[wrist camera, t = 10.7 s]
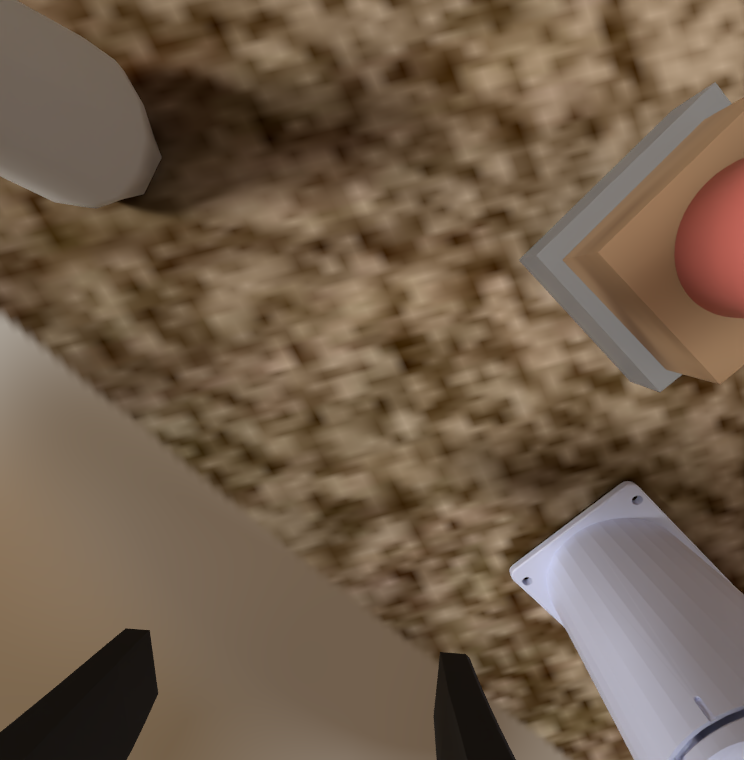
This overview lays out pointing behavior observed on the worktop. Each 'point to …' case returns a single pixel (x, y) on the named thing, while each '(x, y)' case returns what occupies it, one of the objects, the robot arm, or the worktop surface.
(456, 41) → the worktop surface
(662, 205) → the tower top block
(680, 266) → the red rounded block
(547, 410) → the worktop surface
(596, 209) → the tower base block
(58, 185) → the salt shaker
